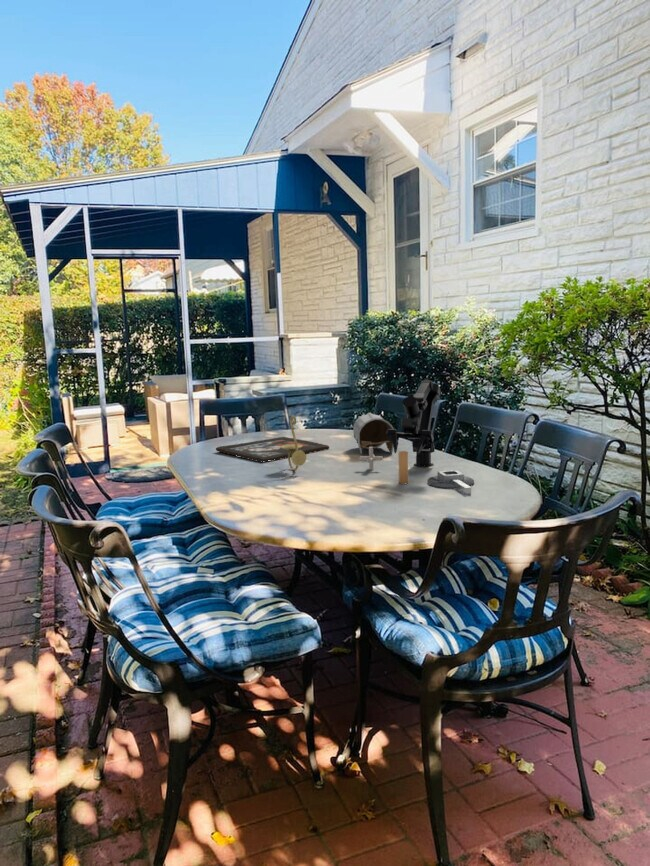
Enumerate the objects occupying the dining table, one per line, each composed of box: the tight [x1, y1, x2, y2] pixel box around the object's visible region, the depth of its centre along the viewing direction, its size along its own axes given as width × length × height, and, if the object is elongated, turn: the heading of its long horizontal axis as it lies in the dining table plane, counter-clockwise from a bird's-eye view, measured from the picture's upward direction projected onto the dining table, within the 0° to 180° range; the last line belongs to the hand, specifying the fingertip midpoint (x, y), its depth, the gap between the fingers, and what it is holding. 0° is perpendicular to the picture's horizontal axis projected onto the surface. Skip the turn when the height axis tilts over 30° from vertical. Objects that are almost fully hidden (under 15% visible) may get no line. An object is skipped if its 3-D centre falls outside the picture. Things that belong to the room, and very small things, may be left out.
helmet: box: [353, 412, 395, 455], centre depth 321 cm, size 19×18×30 cm
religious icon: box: [215, 436, 330, 462], centre depth 331 cm, size 40×45×3 cm
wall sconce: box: [281, 414, 307, 472], centre depth 283 cm, size 14×10×25 cm
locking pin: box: [398, 450, 409, 485], centre depth 256 cm, size 4×4×12 cm
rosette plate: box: [427, 469, 475, 495], centre depth 250 cm, size 27×18×4 cm, turn 10°
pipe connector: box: [359, 447, 384, 471], centre depth 281 cm, size 10×10×10 cm
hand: (406, 453), depth 259 cm, fingers open, 9 cm apart
